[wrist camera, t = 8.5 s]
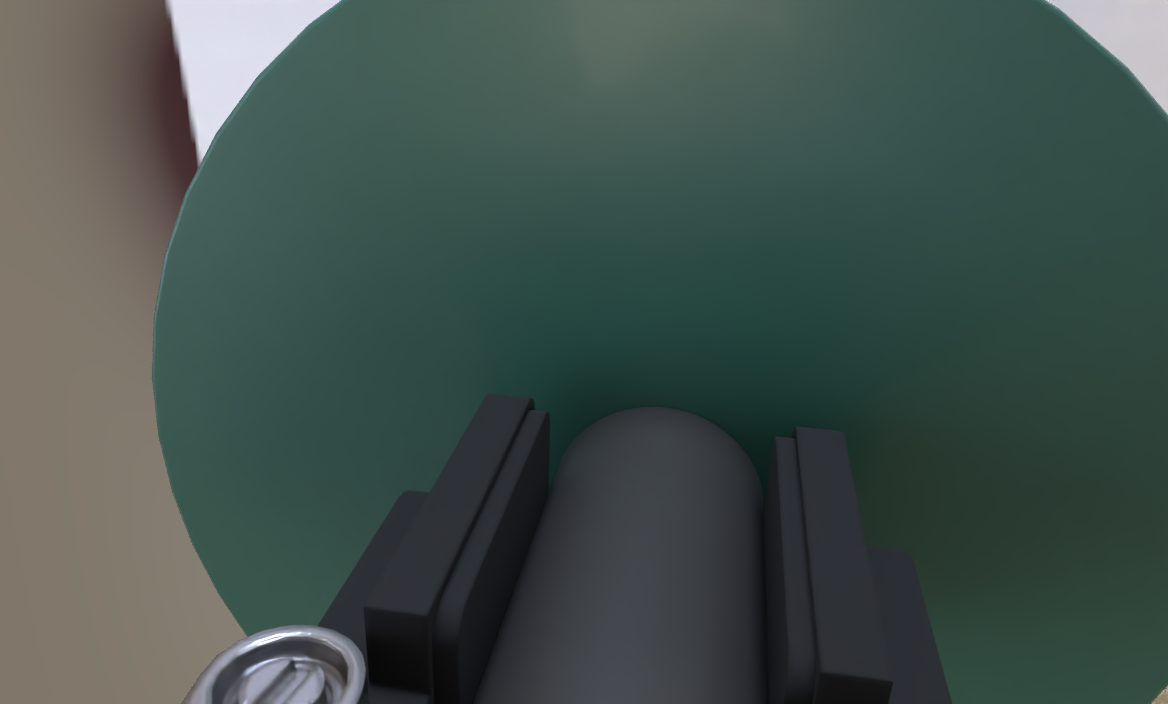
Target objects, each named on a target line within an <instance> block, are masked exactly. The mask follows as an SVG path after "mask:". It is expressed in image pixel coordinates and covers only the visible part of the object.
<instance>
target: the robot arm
mask: <svg viewBox="0 0 1168 704" xmlns="http://www.w3.org/2000/svg"><path fill="white" fill-rule="evenodd" d="M549 455H550V414H549V412H546V411H536V410H535V402H534V400H533V398H525V397H516V396H506V395H497V394H487V395H486V396H485V398H484V399H483V401H482V403H481V405H480V406H479V408H478V410H477V411H476V413H475V415H474V417H473V418H472V420H471V422H470V424H469V425H468V427H467V429H466V430H465V432H464V434H463V436H462V437H461V439H460V441H459V443H458V444H457V446H456V448H455V449H454V451H453V453H452V455H451V456H450V458H449V460H448V462H447V463H446V465H445V467H444V468H443V470H442V472H441V474H440V475H439V477H438V479H437V481H436V482H435V484H434V486H433V487H432V489H431V491H430V492H422V491H414V490H407V491H404V492H403V493H402V494H401V495H400V496H399V498H398V499H397V500H396V502H395V504H394V505H393V507H392V508H391V510H390V512H389V513H388V515H387V516H386V518H385V519H384V521H383V523H382V524H381V526H380V527H379V529H378V531H377V532H376V534H375V535H374V537H373V539H372V540H371V542H370V543H369V545H368V546H367V548H366V550H365V551H364V553H363V554H362V556H361V558H360V559H359V561H358V562H357V564H356V565H355V567H354V569H353V570H352V572H351V573H350V575H349V577H348V578H347V580H346V581H345V583H344V585H343V586H342V588H341V589H340V591H339V592H338V594H337V596H336V597H335V599H334V600H333V602H332V604H331V605H330V607H329V608H328V610H327V611H326V613H325V615H324V616H323V618H322V619H321V621H320V623H319V624H318V626H314V625H286V626H282V627H277V628H273V629H268V630H263V631H260V632H258V633H256V634H253V635H251V636H248V637H247V638H244V639H242V640H239V641H237V642H236V643H234V644H233V645H232V646H230V647H229V648H227V649H226V650H224V651H223V652H221V653H220V654H218V655H217V656H216V657H215V658H214V659H213V660H212V662H211V663H210V664H209V665H208V666H207V667H206V668H205V670H204V671H203V672H202V673H201V674H200V676H199V677H198V679H197V680H196V682H195V683H194V685H193V686H192V688H191V689H190V691H189V692H188V694H187V695H186V697H185V699H184V700H183V702H182V703H181V704H473V702H474V699H475V696H476V693H477V690H478V688H479V685H480V682H481V679H482V677H483V674H484V671H485V668H486V665H487V663H488V660H489V657H490V654H491V652H492V649H493V646H494V643H495V641H496V638H497V635H498V632H499V629H500V627H501V624H502V621H503V618H504V616H505V613H506V610H507V607H508V604H509V602H510V599H511V596H512V593H513V591H514V588H515V585H516V582H517V580H518V577H519V574H520V571H521V568H522V566H523V563H524V560H525V557H526V555H527V552H528V549H529V546H530V543H531V541H532V538H533V535H534V532H535V530H536V527H537V524H538V521H539V518H540V516H541V513H542V510H543V507H544V505H545V502H546V499H547V496H548V494H549ZM763 530H764V564H765V598H766V631H767V665H768V699H769V704H952V701H951V697H950V694H949V690H948V686H947V682H946V679H945V675H944V671H943V668H942V664H941V660H940V657H939V653H938V649H937V646H936V642H935V638H934V634H933V631H932V627H931V623H930V620H929V616H928V612H927V609H926V605H925V601H924V598H923V594H922V590H921V587H920V583H919V579H918V575H917V572H916V568H915V564H914V561H913V559H912V556H911V554H910V553H909V552H907V551H903V550H895V549H886V548H878V547H870V546H866V542H865V537H864V532H863V527H862V522H861V517H860V512H859V507H858V502H857V497H856V492H855V487H854V482H853V477H852V472H851V467H850V462H849V456H848V451H847V446H846V441H845V436H844V433H843V432H842V431H834V430H825V429H815V428H806V427H797V426H794V429H793V432H792V437H791V438H785V437H776V436H775V438H774V442H773V448H772V455H771V462H770V469H769V477H768V484H767V491H766V498H765V505H764V513H763Z"/></svg>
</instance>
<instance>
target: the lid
mask: <svg viewBox="0 0 1168 704" xmlns="http://www.w3.org/2000/svg"><path fill="white" fill-rule="evenodd" d="M152 382H153V390H154V399H155V409H156V418H157V426H158V435H159V440H160V444H161V448H162V452H163V456H164V460H165V464H166V468H167V473H168V476H169V481H170V485H171V489H172V493H173V495H174V498H175V500H176V503H177V506H178V508H179V511H180V513H181V516H182V519H183V521H184V524H185V526H186V529H187V532H188V534H189V537H190V539H191V542H192V545H193V546H194V548H195V550H196V552H197V554H198V556H199V558H200V560H201V562H202V564H203V566H204V568H205V569H206V571H207V573H208V575H209V577H210V579H211V581H212V583H213V584H214V586H215V588H216V590H217V592H218V594H219V596H220V597H221V599H222V600H223V601H224V603H225V605H226V606H227V607H228V609H229V610H230V612H231V613H232V615H233V616H234V618H235V619H236V621H237V622H238V624H239V625H240V627H241V628H242V629H243V631H244V632H245V634H246V635H247V637H248V636H251V635H253V634H256V633H258V632H260V631H263V630H268V629H273V628H277V627H282V626H286V625H314V626H318V624H319V623H320V621H321V619H322V618H323V616H324V615H325V613H326V611H327V610H328V608H329V607H330V605H331V604H332V602H333V600H334V599H335V597H336V596H337V594H338V592H339V591H340V589H341V588H342V586H343V585H344V583H345V581H346V580H347V578H348V577H349V575H350V573H351V572H352V570H353V569H354V567H355V565H356V564H357V562H358V561H359V559H360V558H361V556H362V554H363V553H364V551H365V550H366V548H367V546H368V545H369V543H370V542H371V540H372V539H373V537H374V535H375V534H376V532H377V531H378V529H379V527H380V526H381V524H382V523H383V521H384V519H385V518H386V516H387V515H388V513H389V512H390V510H391V508H392V507H393V505H394V504H395V502H396V500H397V499H398V498H399V496H400V495H401V494H402V493H403V492H404V491H407V490H414V491H422V492H430V491H431V489H432V487H433V486H434V484H435V482H436V481H437V479H438V477H439V475H440V474H441V472H442V470H443V468H444V467H445V465H446V463H447V462H448V460H449V458H450V456H451V455H452V453H453V451H454V449H455V448H456V446H457V444H458V443H459V441H460V439H461V437H462V436H463V434H464V432H465V430H466V429H467V427H468V425H469V424H470V422H471V420H472V418H473V417H474V415H475V413H476V411H477V410H478V408H479V406H480V405H481V403H482V401H483V399H484V398H485V396H486V395H487V394H497V395H506V396H516V397H525V398H533V400H534V402H535V410H536V411H546V412H549V414H550V455H549V494H548V496H547V499H546V502H545V505H544V507H543V510H542V513H541V516H540V518H539V521H538V524H537V527H536V530H535V532H534V535H533V538H532V541H531V543H530V546H529V549H528V552H527V555H526V557H525V560H524V563H523V566H522V568H521V571H520V574H519V577H518V580H517V582H516V585H515V588H514V591H513V593H512V596H511V599H510V602H509V604H508V607H507V610H506V613H505V616H504V618H503V621H502V624H501V627H500V629H499V632H498V635H497V638H496V641H495V643H494V646H493V649H492V652H491V654H490V657H489V660H488V663H487V665H486V668H485V671H484V674H483V677H482V679H481V682H480V685H479V688H478V690H477V693H476V696H475V699H474V702H473V704H769V699H768V665H767V631H766V598H765V564H764V530H763V513H764V505H765V498H766V491H767V484H768V477H769V469H770V462H771V455H772V448H773V442H774V438H775V436H776V437H785V438H791V437H792V432H793V429H794V426H797V427H806V428H815V429H825V430H834V431H842V432H843V433H844V436H845V441H846V446H847V451H848V456H849V462H850V467H851V472H852V477H853V482H854V487H855V492H856V497H857V502H858V507H859V512H860V517H861V522H862V527H863V532H864V537H865V542H866V546H870V547H878V548H886V549H895V550H903V551H907V552H909V553H910V554H911V556H912V559H913V561H914V564H915V568H916V572H917V575H918V579H919V583H920V587H921V590H922V594H923V598H924V601H925V605H926V609H927V612H928V616H929V620H930V623H931V627H932V631H933V634H934V638H935V642H936V646H937V649H938V653H939V657H940V660H941V664H942V668H943V671H944V675H945V679H946V682H947V686H948V690H949V694H950V697H951V701H952V704H1150V703H1151V702H1152V701H1153V700H1154V699H1155V698H1156V697H1157V696H1158V695H1159V694H1160V692H1161V691H1162V690H1163V689H1164V688H1165V687H1166V686H1167V685H1168V115H1167V113H1166V112H1165V111H1164V110H1163V109H1162V107H1161V106H1160V105H1159V104H1158V103H1157V102H1156V100H1155V99H1154V98H1153V97H1152V96H1151V94H1150V93H1149V92H1148V91H1147V90H1146V89H1145V87H1144V86H1143V85H1142V84H1141V83H1140V81H1139V80H1138V79H1137V78H1136V77H1135V76H1134V74H1133V73H1132V72H1131V71H1130V70H1129V68H1128V67H1126V66H1125V65H1124V64H1123V63H1122V62H1121V61H1119V60H1118V59H1117V58H1116V57H1115V56H1114V55H1112V54H1111V53H1110V52H1109V51H1108V50H1107V49H1105V48H1104V47H1103V46H1102V45H1101V44H1100V43H1098V42H1097V41H1096V40H1095V39H1094V38H1093V37H1091V36H1090V35H1089V34H1088V33H1087V32H1086V31H1084V30H1083V29H1082V28H1081V27H1080V26H1079V25H1077V24H1076V23H1075V22H1074V21H1073V20H1072V19H1070V18H1069V17H1068V16H1067V15H1066V14H1065V13H1063V12H1062V11H1061V10H1060V9H1059V8H1057V7H1055V6H1054V5H1052V4H1050V3H1049V2H1047V1H1046V0H341V1H340V2H339V3H337V4H336V5H334V6H333V7H332V8H330V9H329V10H328V11H326V12H325V13H324V14H322V15H321V16H320V17H318V18H317V19H316V20H314V21H313V22H312V23H310V24H309V25H308V26H307V27H306V28H305V29H304V30H303V31H302V32H301V33H300V34H299V35H298V36H297V37H296V38H295V39H294V40H293V41H292V42H291V43H290V44H289V45H288V46H287V47H286V48H285V49H284V50H283V51H282V52H281V53H280V54H279V55H278V56H277V57H276V58H275V59H274V60H273V61H272V62H271V63H270V64H269V65H268V66H267V67H266V68H265V69H264V70H263V71H262V72H261V73H260V74H259V75H258V77H257V78H256V79H255V81H254V82H253V83H252V85H251V86H250V87H249V89H248V90H247V92H246V93H245V94H244V96H243V97H242V99H241V100H240V101H239V103H238V104H237V105H236V107H235V108H234V110H233V111H232V112H231V114H230V115H229V117H228V118H227V119H226V121H225V122H224V123H223V125H222V126H221V128H220V129H219V130H218V132H217V133H216V135H215V137H214V139H213V141H212V143H211V145H210V146H209V148H208V150H207V152H206V154H205V156H204V158H203V160H202V162H201V164H200V166H199V168H198V170H197V172H196V174H195V176H194V178H193V180H192V182H191V184H190V186H189V188H188V190H187V192H186V194H185V196H184V199H183V202H182V205H181V208H180V211H179V214H178V217H177V220H176V223H175V226H174V229H173V232H172V235H171V238H170V241H169V244H168V247H167V250H166V253H165V256H164V262H163V267H162V273H161V279H160V285H159V291H158V296H157V303H156V308H155V314H154V328H153V363H152Z"/></svg>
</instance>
